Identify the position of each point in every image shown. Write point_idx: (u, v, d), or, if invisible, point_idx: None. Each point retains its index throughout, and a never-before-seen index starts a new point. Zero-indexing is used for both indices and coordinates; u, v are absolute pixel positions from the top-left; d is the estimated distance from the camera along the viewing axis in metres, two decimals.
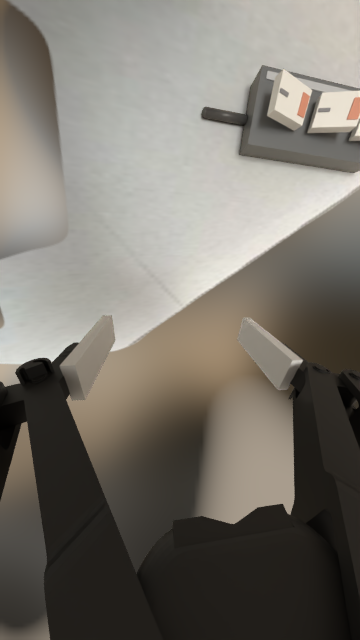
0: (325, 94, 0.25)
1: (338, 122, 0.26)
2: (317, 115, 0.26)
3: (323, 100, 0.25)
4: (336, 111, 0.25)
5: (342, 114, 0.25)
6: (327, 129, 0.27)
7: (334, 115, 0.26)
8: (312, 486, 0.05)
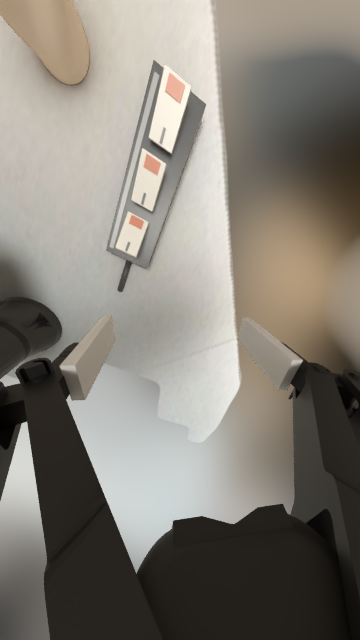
0: (133, 196, 0.27)
1: (156, 184, 0.26)
2: (145, 205, 0.28)
3: (136, 198, 0.27)
4: (148, 186, 0.26)
5: (152, 179, 0.26)
6: (157, 193, 0.27)
7: (150, 188, 0.26)
8: (312, 486, 0.05)
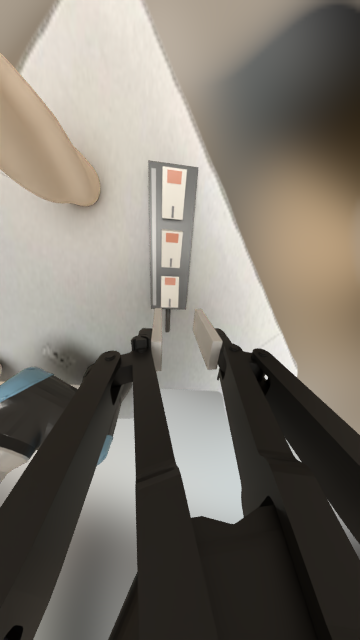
0: (162, 264, 0.32)
1: (178, 248, 0.31)
2: (173, 266, 0.33)
3: (165, 264, 0.32)
4: (172, 253, 0.31)
5: (174, 247, 0.30)
6: (180, 253, 0.32)
7: (174, 253, 0.31)
8: (253, 470, 0.05)
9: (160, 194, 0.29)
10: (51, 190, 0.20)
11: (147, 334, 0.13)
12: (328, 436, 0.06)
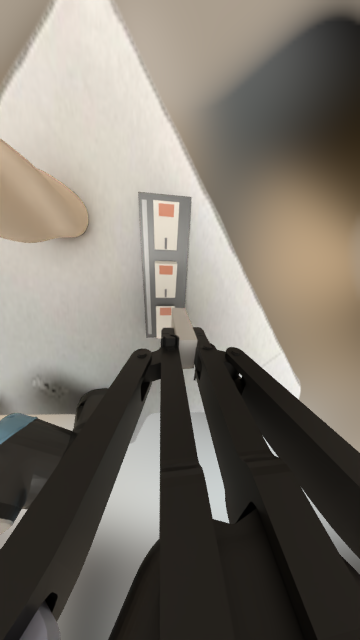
0: (156, 295, 0.31)
1: (173, 279, 0.29)
2: (168, 296, 0.31)
3: (159, 295, 0.31)
4: (166, 284, 0.29)
5: (168, 278, 0.29)
6: (175, 283, 0.30)
7: (168, 284, 0.29)
8: (234, 474, 0.05)
9: (152, 225, 0.27)
10: (30, 235, 0.18)
11: (169, 333, 0.13)
12: (302, 432, 0.06)
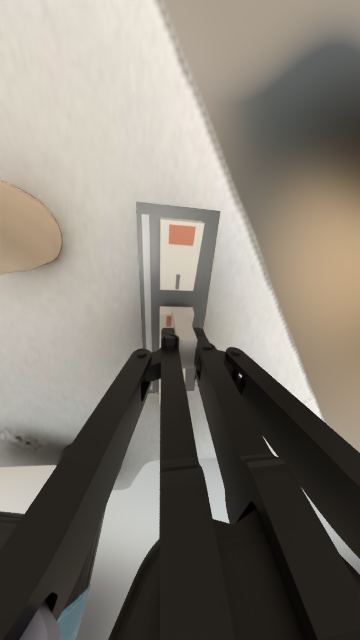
0: None
1: None
2: None
3: None
4: None
5: None
6: None
7: None
8: (234, 474, 0.05)
9: (157, 252, 0.18)
10: None
11: (169, 333, 0.13)
12: (302, 432, 0.06)
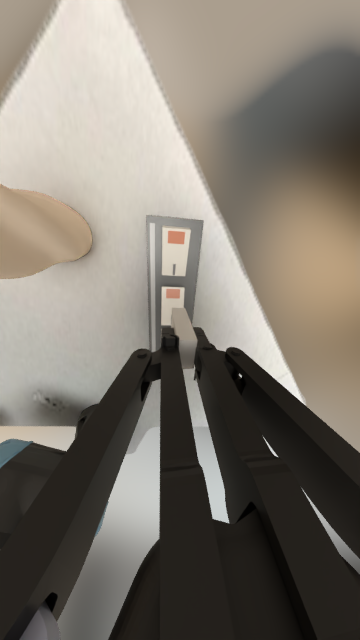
0: (162, 322, 0.28)
1: (180, 304, 0.27)
2: None
3: (165, 322, 0.28)
4: None
5: (175, 303, 0.27)
6: None
7: None
8: (234, 474, 0.05)
9: (160, 248, 0.25)
10: (28, 271, 0.17)
11: (169, 333, 0.13)
12: (302, 432, 0.06)
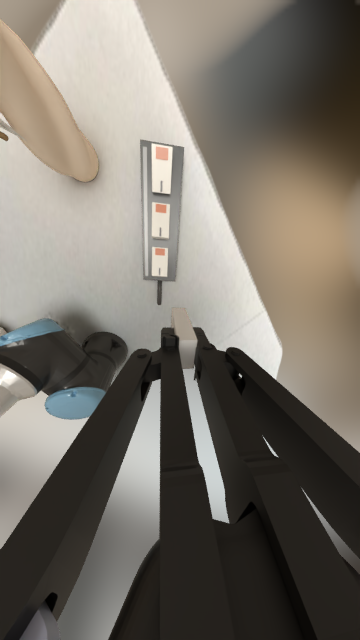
0: (152, 233, 0.35)
1: (167, 218, 0.35)
2: (162, 235, 0.35)
3: (155, 234, 0.35)
4: (161, 222, 0.35)
5: (163, 217, 0.35)
6: None
7: (163, 223, 0.35)
8: (234, 474, 0.05)
9: (151, 171, 0.33)
10: (56, 158, 0.24)
11: (169, 333, 0.13)
12: (302, 432, 0.06)
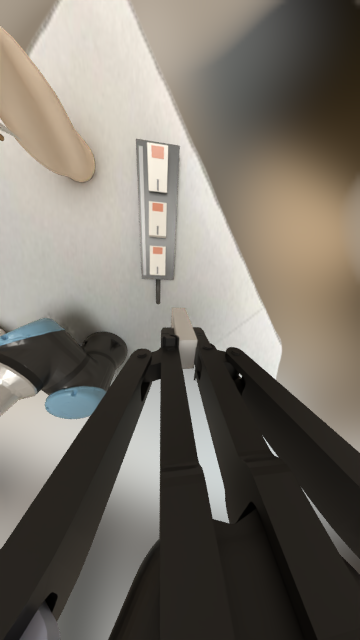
0: (149, 232, 0.35)
1: (164, 217, 0.35)
2: (160, 234, 0.35)
3: (152, 232, 0.35)
4: (158, 221, 0.35)
5: (160, 216, 0.35)
6: None
7: (160, 221, 0.35)
8: (234, 474, 0.05)
9: (147, 170, 0.33)
10: (52, 158, 0.24)
11: (169, 333, 0.13)
12: (302, 432, 0.06)
